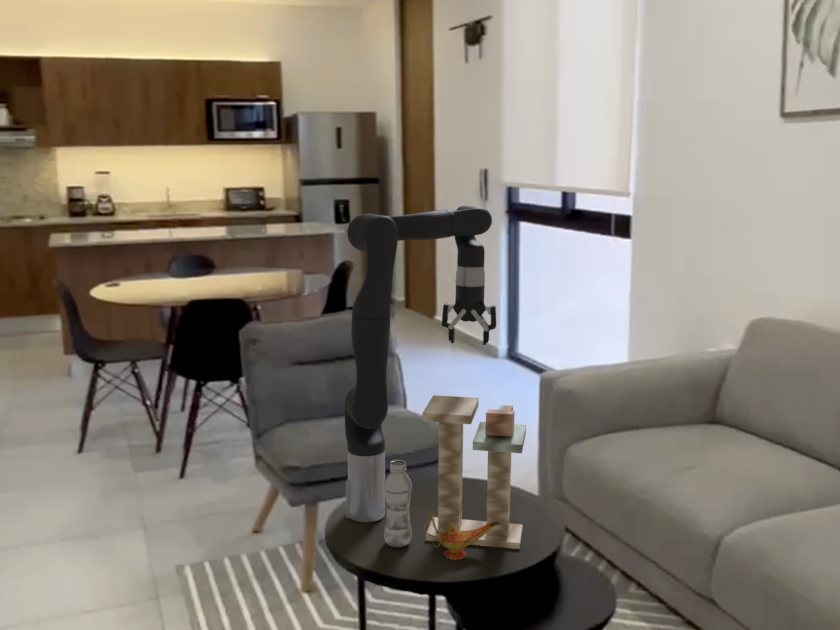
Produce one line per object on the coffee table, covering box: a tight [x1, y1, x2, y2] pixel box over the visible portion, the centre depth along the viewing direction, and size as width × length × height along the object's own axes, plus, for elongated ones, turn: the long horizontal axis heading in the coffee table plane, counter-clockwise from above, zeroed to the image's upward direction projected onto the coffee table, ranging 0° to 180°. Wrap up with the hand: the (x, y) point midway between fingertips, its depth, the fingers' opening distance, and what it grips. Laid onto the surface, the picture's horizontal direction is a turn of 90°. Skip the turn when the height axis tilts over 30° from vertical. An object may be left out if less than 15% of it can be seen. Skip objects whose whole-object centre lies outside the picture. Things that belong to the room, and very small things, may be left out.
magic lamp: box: [423, 511, 500, 561], centre depth 193 cm, size 7×18×11 cm, turn 103°
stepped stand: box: [422, 394, 527, 550], centre depth 200 cm, size 22×14×32 cm, turn 79°
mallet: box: [485, 404, 516, 437], centre depth 203 cm, size 6×22×5 cm, turn 169°
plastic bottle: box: [383, 459, 413, 548], centre depth 196 cm, size 6×7×20 cm
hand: (468, 343), depth 225 cm, fingers open, 8 cm apart
